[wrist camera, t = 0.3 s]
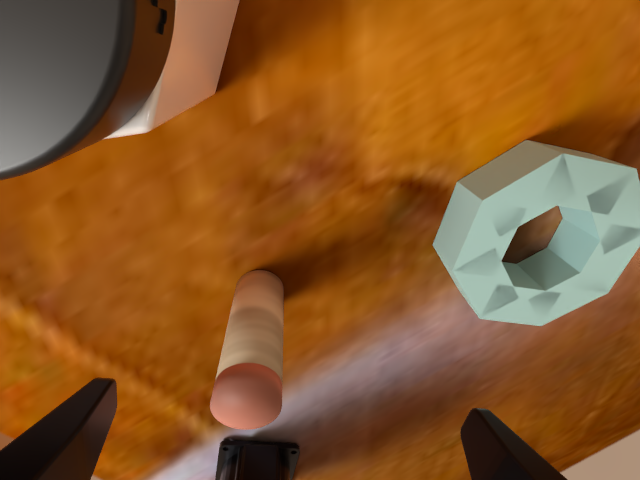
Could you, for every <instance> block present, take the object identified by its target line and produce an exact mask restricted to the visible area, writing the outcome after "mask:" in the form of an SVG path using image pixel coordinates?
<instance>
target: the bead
mask: <svg viewBox="0 0 640 480" xmlns="http://www.w3.org/2000/svg"><path fill="white" fill-rule="evenodd" d="M556 205H557V206H559V209H560V211H561V214H562V217H563V219H562V221H561V223H560V224H559V226H558V228H557V230H556V232H555V234H554V235H553V237H552V239H551V241H550V243H549V244H548V246H547V248H545V249H543V250H541V251H539V252H538V253H536V254H534V255H532V256H530V257H528V258H526V259H524V260H523V261H521V262H519V263H517V264H514V263H507V262H502V261H501V260H502V258H503V256H504V254H505V252H506V250H507V248H508V246H509V244H510V242H511V240H512V238H513V236H514V234H515V232H516V230H517V228H518V227H519V226H521V225H522V224H524V223H526V222H528V221H530V220H531V219H533V218H535V217H537V216H539V215H540V214H542V213H544V212H546V211H547V210H549V209H551V208H553V207H555V206H556ZM433 246H434V248H435V250H436V252H437V253H438V255H439V257H440V258H441V260H442V262H443V264H444V265H445V267H446V269H447V271H448V272H449V274H450V276H451V277H452V279H453V281H454V283H455V284H456V286H457V288H458V289H459V291H460V292H461V294H462V295H463V296H464V298H465V299H466V301H467V302H468V303H469V305H470V306H471V308H472V309H473V310H474V312H475V313H476V314H477V316H478V317H479V319H486V320H494V321H502V322H511V323H519V324H527V325H535V326H542V325H544V324H546V323H548V322H550V321H552V320H554V319H556V318H558V317H560V316H562V315H565V314H567V313H569V312H571V311H573V310H575V309H577V308H579V307H581V306H583V305H585V304H587V303H589V302H591V301H593V300H595V299H597V298H599V297H601V296H603V295H605V294H607V293H608V292H609V291H610V289H611V288H612V286H613V285H614V283H615V282H616V280H617V279H618V277H619V276H620V274H621V273H622V271H623V270H624V269H625V267H626V266H627V264H628V263H629V261H630V260H631V258H632V257H633V255H634V254H635V252H636V251H637V249H638V248H639V246H640V182H639V177H638V173H637V169H636V168H633V167H630V166H627V165H624V164H621V163H618V162H615V161H612V160H609V159H606V158H603V157H600V156H597V155H594V154H591V153H586V152H581V151H577V150H572V149H567V148H563V147H558V146H553V145H549V144H544V143H539V142H534V141H530V140H525V141H523V142H522V143H520V144H518V145H517V146H515V147H513V148H512V149H510V150H508V151H507V152H505V153H503V154H502V155H500V156H498V157H497V158H495V159H494V160H492V161H490V162H489V163H487V164H485V165H484V166H482V167H480V168H479V169H477V170H475V171H474V172H472V173H470V174H469V175H467V176H465V177H464V178H462V179H461V180H459V181H457V183H456V186H455V189H454V191H453V194H452V196H451V199H450V202H449V204H448V207H447V209H446V212H445V214H444V217H443V220H442V222H441V225H440V227H439V230H438V232H437V235H436V238H435V240H434V243H433Z"/></svg>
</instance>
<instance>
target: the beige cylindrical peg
mask: <svg viewBox="0 0 640 480" xmlns="http://www.w3.org/2000/svg"><path fill="white" fill-rule="evenodd" d="M283 313H284V287H283V283H282V281H281V280H280V279H279V278H278V277H277V276H276V275H275V274H273V273H271V272H268V271H264V270H255V271H250V272H248V273H246V274H244V275H243V276H242V277H241V278H240V279H239V281H238V283H237V286H236V290H235V294H234V299H233V303H232V308H231V312H230V317H229V321H228V326H227V330H226V335H225V339H224V344H223V348H222V353H221V357H220V362H219V366H218V371H217V375H216V380H215V384H214V389H213V393H212V398H211V402H210V409H211V412H212V414H213V416H214V417H215V418H216V419H217V420H218V421H219V422H221V423H222V424H224V425H226V426H229V427H232V428H236V429H255V428H260V427H263V426H265V425H267V424H269V423H271V422H272V421H274V420H275V419H276V418H277V417H278V415H279V414H280V412H281V408H282V367H283Z"/></svg>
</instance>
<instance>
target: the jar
mask: <svg viewBox="0 0 640 480" xmlns="http://www.w3.org/2000/svg"><path fill="white" fill-rule="evenodd" d="M239 1H240V0H0V180H3V179H8V178H12V177H16V176H20V175H23V174H26V173H29V172H32V171H35V170H37V169H40V168H42V167H44V166H47V165H49V164H51V163H53V162H55V161H57V160H60V159H62V158H64V157H66V156H68V155H70V154H72V153H75V152H77V151H79V150H81V149H83V148H85V147H87V146H90V145H92V144H94V143H96V142H98V141H100V140H102V139H108V138H115V137H121V136H128V135H135V134H141V133H147V132H149V131H151V130H153V129H154V128H156V127H158V126H160V125H162V124H163V123H165V122H167V121H169V120H170V119H172V118H174V117H176V116H177V115H179V114H181V113H183V112H184V111H186V110H188V109H190V108H192V107H193V106H195V105H197V104H199V103H200V102H202V101H204V100H206V99H207V98H209V97H211V96H213V95H214V94H215V92H216V88H217V84H218V80H219V76H220V73H221V69H222V65H223V61H224V57H225V54H226V50H227V46H228V42H229V38H230V35H231V31H232V27H233V23H234V20H235V16H236V12H237V8H238V4H239Z"/></svg>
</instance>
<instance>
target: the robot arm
mask: <svg viewBox="0 0 640 480" xmlns="http://www.w3.org/2000/svg"><path fill="white" fill-rule="evenodd" d="M116 408H117V389H116V381H115V380H114V379H110V378H95V379H93V380H92V381H90V382H89V383H88V384H87V385H85V386H84V387H83V388H81V389H80V390H79V391H77V392H76V393H75V394H73V395H72V396H71V397H70V398H68V399H67V400H66V401H64V402H63V403H62V404H60V405H59V406H58V407H56V408H55V409H54V410H53V411H51V412H50V413H49V414H47V415H46V416H45V417H43V418H42V419H41V420H39V421H38V422H37V423H36V424H34V425H33V426H32V427H30V428H29V429H28V430H26V431H25V432H24V433H22V434H21V435H20V436H19V437H17V438H16V439H15V440H13V441H12V442H11V443H9V444H8V445H7V446H5V447H4V448H3V449H2V450H0V480H90V479H91V477H92V474H93V471H94V469H95V466H96V463H97V461H98V458H99V455H100V453H101V450H102V447H103V445H104V442H105V439H106V437H107V434H108V431H109V429H110V426H111V423H112V421H113V418H114V415H115V412H116ZM461 440H462V444H463V448H464V451H465V455H466V459H467V463H468V467H469V471H470V475H471V479H472V480H567V479H566V478H565V477H564V476H563V475H562V474H560V473H559V472H558V471H557V470H556V469H555V468H554V467H553V466H551V465H550V464H549V463H548V462H547V461H546V460H545V459H544V458H542V457H541V456H540V455H539V454H538V453H537V452H536V451H535V450H533V449H532V448H531V447H530V446H529V445H528V444H527V443H526V442H524V441H523V440H522V439H521V438H520V437H519V436H518V435H517V434H515V433H514V432H513V431H512V430H511V429H510V428H509V427H508V426H506V425H505V424H504V423H503V422H502V421H501V420H500V419H499V418H497V417H496V416H495V415H494V414H493V413H492V412H491V411H489V410H487V409H480V408H473V409H472V410H471V411H470V412H469V414H468V416H467V418H466V420H465V422H464V424H463V425H462V427H461ZM299 453H300V449H299V445H297V444H287V443H269V442H250V441H231V440H224V441H222V442H221V443H220V448H219V455H218V463H217V471H216V479H215V480H292V478H293V474H294V471H295V467H296V464H297V460H298V457H299Z"/></svg>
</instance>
